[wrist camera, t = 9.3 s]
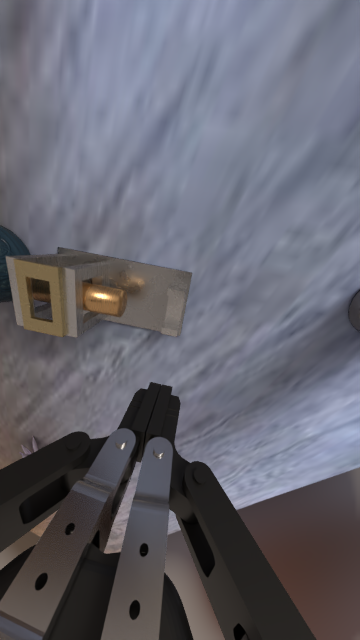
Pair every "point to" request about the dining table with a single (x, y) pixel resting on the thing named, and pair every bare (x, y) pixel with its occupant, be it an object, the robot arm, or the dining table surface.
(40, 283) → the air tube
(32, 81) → the dining table surface
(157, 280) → the collar stand
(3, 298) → the canister
